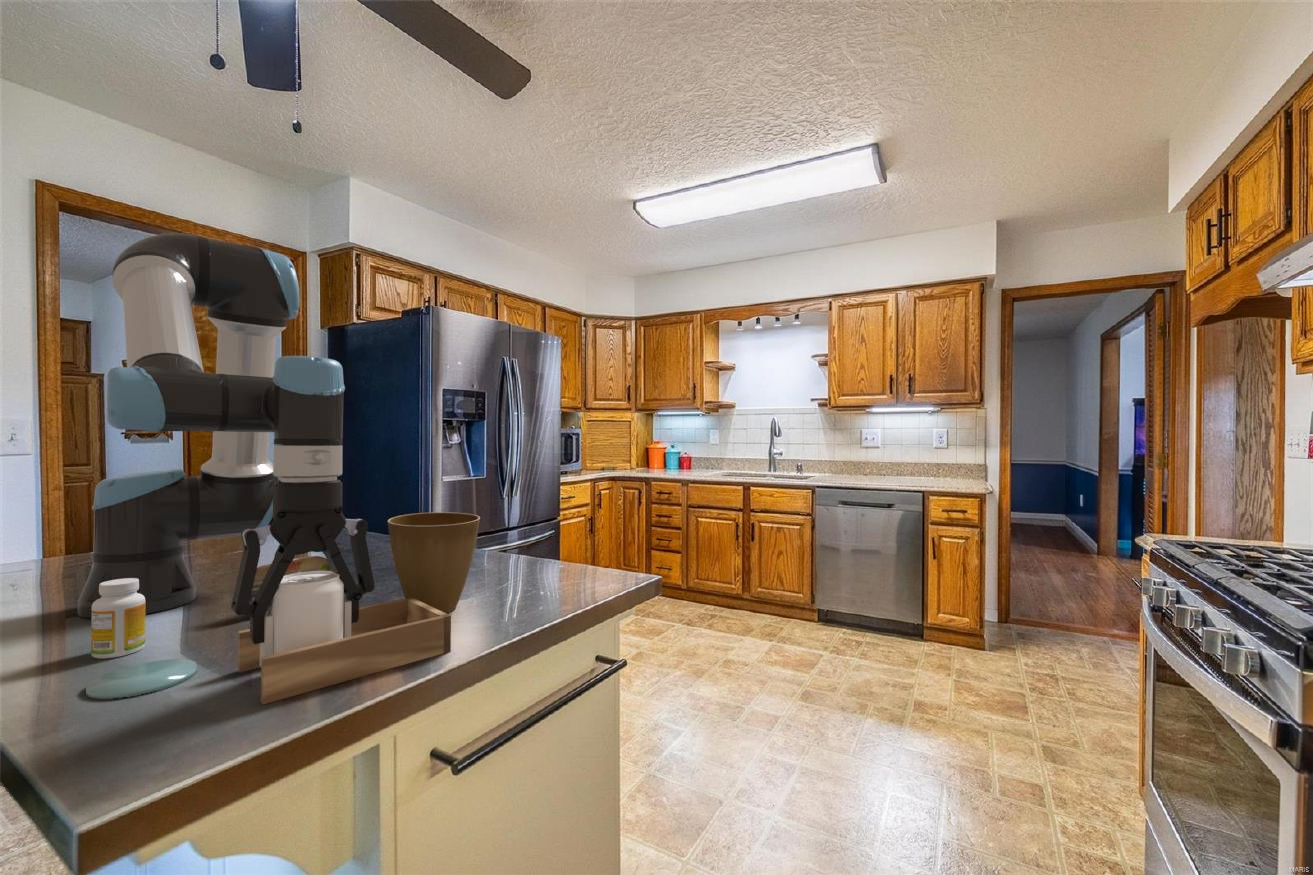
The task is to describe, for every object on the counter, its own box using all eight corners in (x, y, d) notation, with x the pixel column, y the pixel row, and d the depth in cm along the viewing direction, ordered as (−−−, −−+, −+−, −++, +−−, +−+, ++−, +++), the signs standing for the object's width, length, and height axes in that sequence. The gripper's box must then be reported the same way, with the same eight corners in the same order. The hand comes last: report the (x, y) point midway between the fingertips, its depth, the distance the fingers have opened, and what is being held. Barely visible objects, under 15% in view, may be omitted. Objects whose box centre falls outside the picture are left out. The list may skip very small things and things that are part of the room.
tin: (248, 621, 91) (248, 569, 91) (236, 618, 92) (237, 567, 92) (336, 598, 105) (336, 552, 105) (325, 595, 106) (325, 551, 106)
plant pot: (366, 616, 94) (367, 520, 94) (433, 594, 107) (434, 510, 107) (435, 629, 88) (436, 526, 88) (496, 603, 102) (497, 515, 102)
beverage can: (308, 688, 67) (309, 587, 67) (251, 682, 69) (252, 583, 69) (357, 662, 75) (358, 571, 75) (305, 656, 76) (306, 568, 76)
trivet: (84, 680, 69) (84, 675, 69) (190, 657, 76) (190, 653, 76) (87, 708, 62) (87, 702, 62) (203, 680, 69) (203, 675, 69)
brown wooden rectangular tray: (237, 670, 72) (238, 631, 72) (410, 629, 88) (411, 597, 88) (263, 704, 63) (263, 659, 63) (450, 651, 79) (451, 615, 79)
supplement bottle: (144, 642, 81) (144, 574, 81) (146, 652, 78) (146, 581, 78) (91, 651, 78) (91, 581, 78) (90, 663, 74) (91, 588, 74)
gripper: (210, 485, 62) (208, 693, 62) (404, 477, 77) (402, 644, 77) (199, 481, 67) (197, 673, 67) (382, 474, 82) (380, 630, 82)
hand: (306, 657), depth 72 cm, fingers closed on beverage can, 8 cm apart
